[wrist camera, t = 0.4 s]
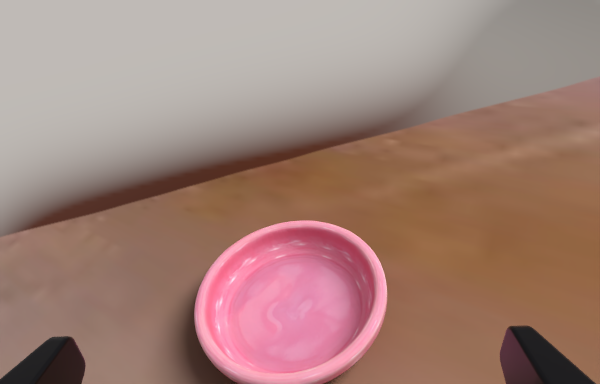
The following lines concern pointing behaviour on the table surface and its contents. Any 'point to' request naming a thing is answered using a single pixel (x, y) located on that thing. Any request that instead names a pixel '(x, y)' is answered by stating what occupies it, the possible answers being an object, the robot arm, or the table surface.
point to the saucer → (291, 304)
